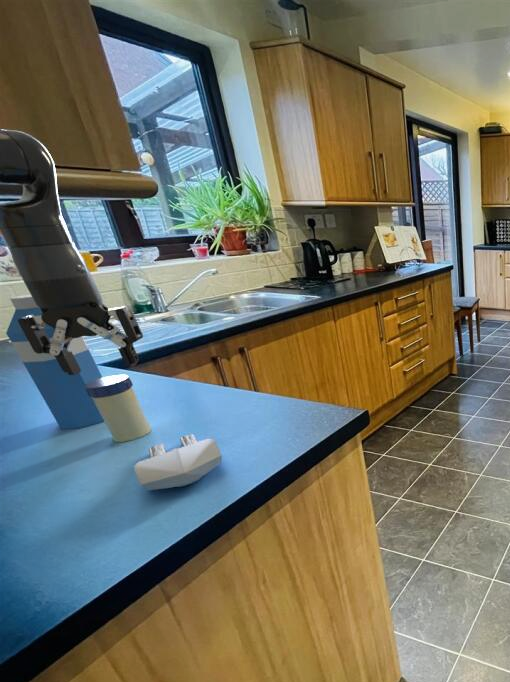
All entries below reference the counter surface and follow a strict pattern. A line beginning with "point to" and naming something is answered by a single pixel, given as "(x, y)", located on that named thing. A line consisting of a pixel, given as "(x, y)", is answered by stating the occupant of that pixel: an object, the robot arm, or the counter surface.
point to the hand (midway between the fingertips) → (104, 369)
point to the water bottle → (57, 372)
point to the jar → (123, 415)
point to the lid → (108, 385)
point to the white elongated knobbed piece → (178, 463)
